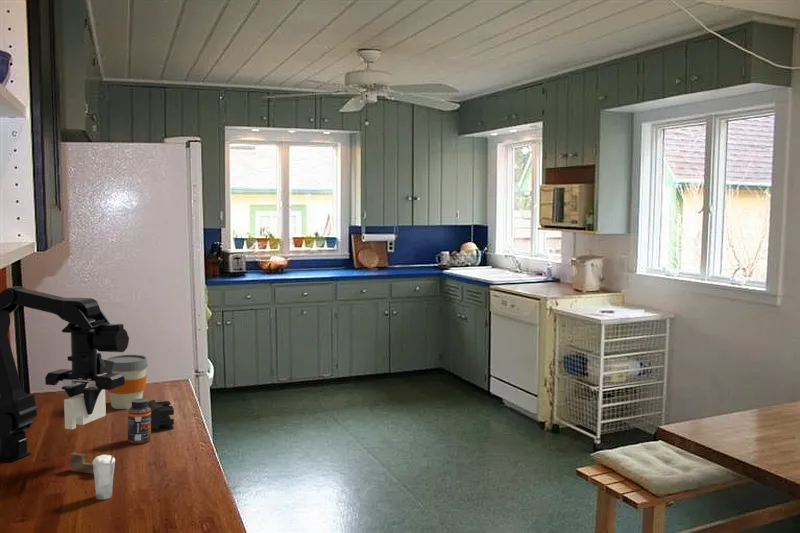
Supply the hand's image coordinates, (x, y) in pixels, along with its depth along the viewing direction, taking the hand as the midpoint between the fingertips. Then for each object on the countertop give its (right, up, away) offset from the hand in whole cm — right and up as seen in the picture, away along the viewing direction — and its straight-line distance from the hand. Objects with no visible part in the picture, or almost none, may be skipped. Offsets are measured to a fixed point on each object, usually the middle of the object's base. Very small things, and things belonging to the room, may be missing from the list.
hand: (85, 413), depth 173 cm
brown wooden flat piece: (+3, -13, -4) cm, 14 cm away
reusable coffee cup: (-10, -8, +52) cm, 54 cm away
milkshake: (+12, -15, -18) cm, 27 cm away
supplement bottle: (+6, -11, +18) cm, 23 cm away
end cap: (+7, -11, +32) cm, 34 cm away
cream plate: (0, -2, 0) cm, 2 cm away
